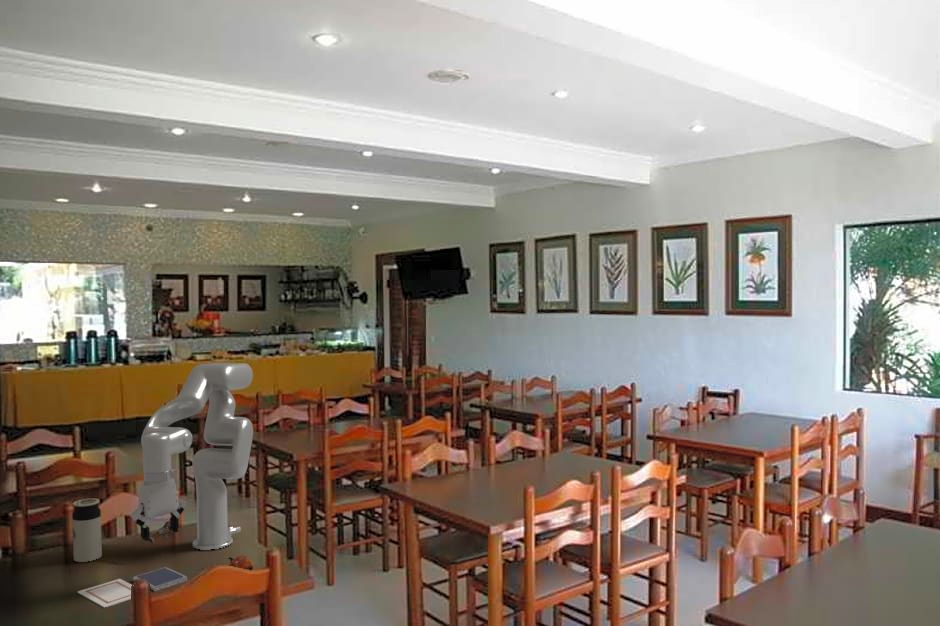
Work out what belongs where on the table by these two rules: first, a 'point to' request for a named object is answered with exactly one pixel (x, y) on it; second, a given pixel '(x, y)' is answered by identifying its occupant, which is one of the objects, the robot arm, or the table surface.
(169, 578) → the ink pad
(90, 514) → the travel mug
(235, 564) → the pomegranate
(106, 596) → the marked card
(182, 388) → the robot arm
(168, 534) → the wooden post with brackets
